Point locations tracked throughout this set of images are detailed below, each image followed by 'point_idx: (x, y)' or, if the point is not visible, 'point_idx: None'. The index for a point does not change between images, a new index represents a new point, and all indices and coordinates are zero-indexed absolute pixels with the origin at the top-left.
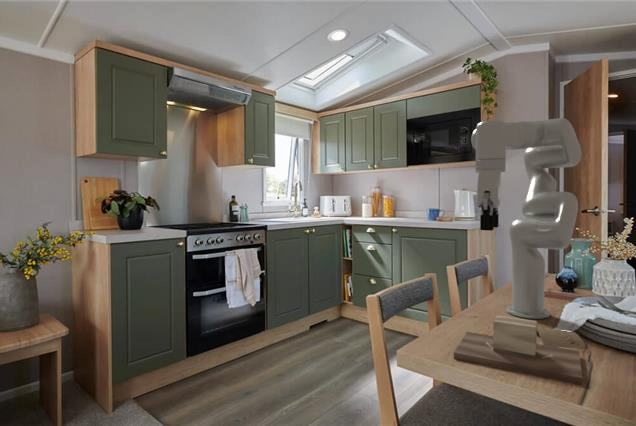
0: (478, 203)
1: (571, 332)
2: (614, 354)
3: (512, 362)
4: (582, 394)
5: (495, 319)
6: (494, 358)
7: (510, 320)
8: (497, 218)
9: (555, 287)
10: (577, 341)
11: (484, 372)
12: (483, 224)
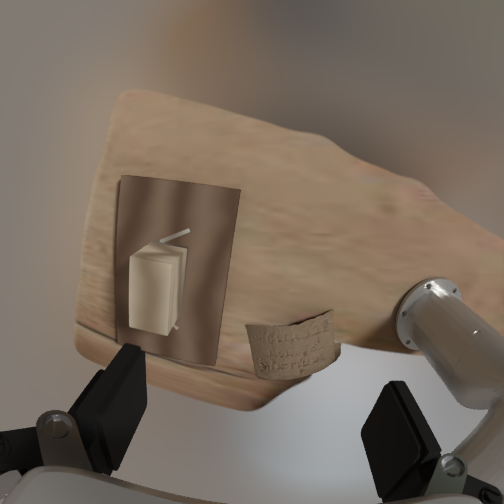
0: (17, 487)
1: (294, 373)
2: (248, 400)
3: (121, 267)
4: (98, 331)
5: (141, 260)
6: (123, 241)
7: (148, 289)
8: (374, 474)
9: None
10: (267, 372)
11: (97, 224)
12: (94, 377)
